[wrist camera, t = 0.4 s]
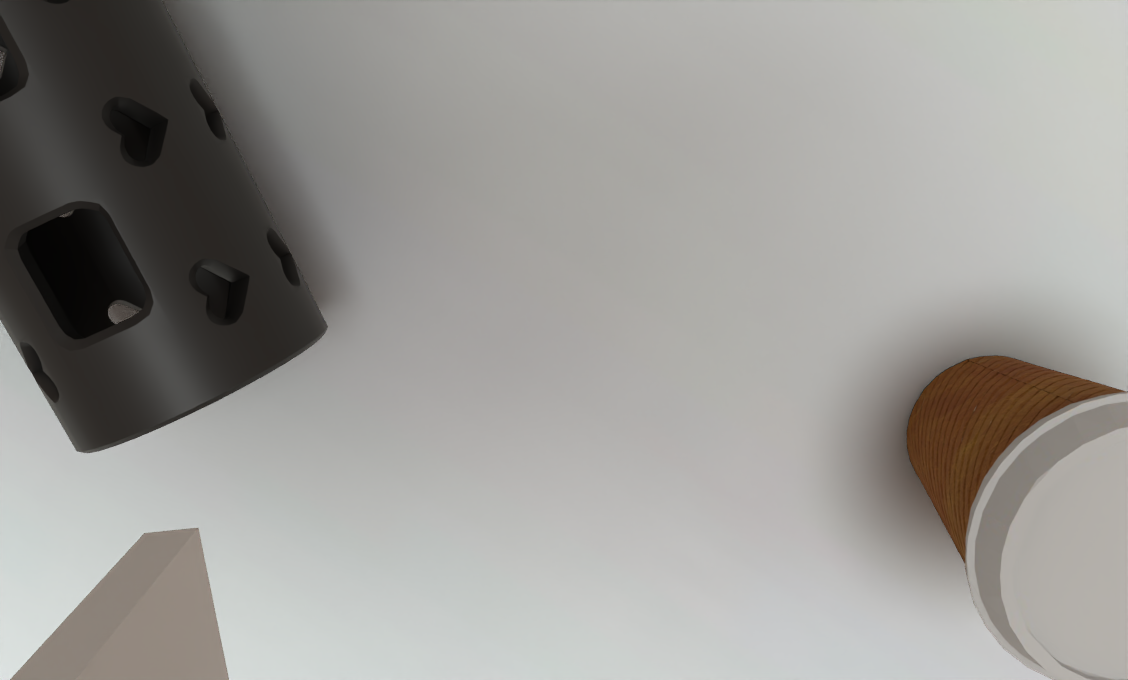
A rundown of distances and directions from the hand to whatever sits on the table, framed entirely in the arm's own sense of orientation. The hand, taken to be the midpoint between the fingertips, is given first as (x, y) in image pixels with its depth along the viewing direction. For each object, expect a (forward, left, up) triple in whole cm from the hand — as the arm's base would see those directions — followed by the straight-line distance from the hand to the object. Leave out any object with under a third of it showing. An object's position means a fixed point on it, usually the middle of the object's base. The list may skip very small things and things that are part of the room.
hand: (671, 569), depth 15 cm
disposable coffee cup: (+8, +15, -27) cm, 31 cm away
